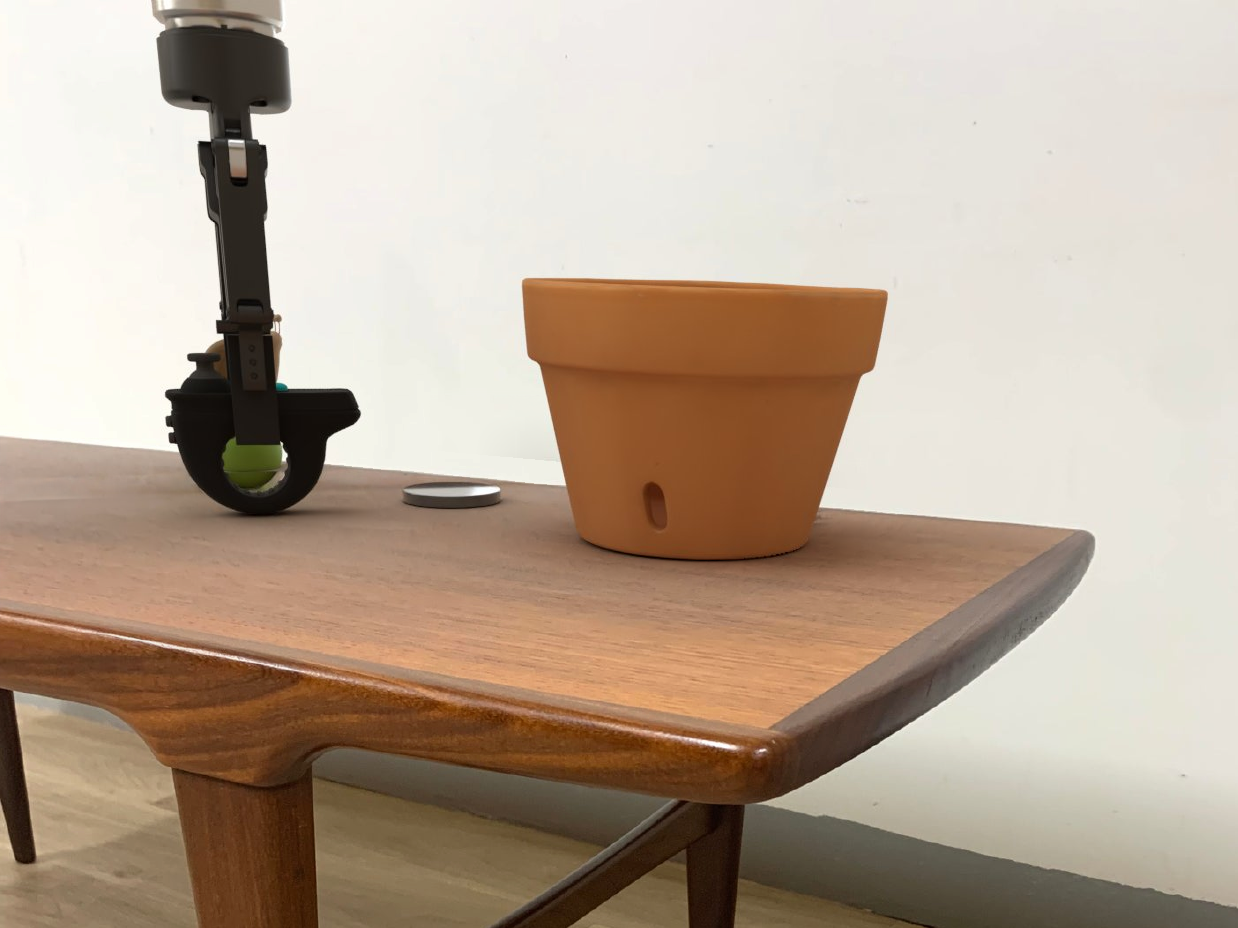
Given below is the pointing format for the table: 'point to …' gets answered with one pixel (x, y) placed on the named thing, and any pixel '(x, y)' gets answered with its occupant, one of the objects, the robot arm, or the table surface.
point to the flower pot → (698, 406)
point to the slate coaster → (451, 494)
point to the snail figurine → (250, 454)
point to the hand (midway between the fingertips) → (255, 436)
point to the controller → (210, 425)
